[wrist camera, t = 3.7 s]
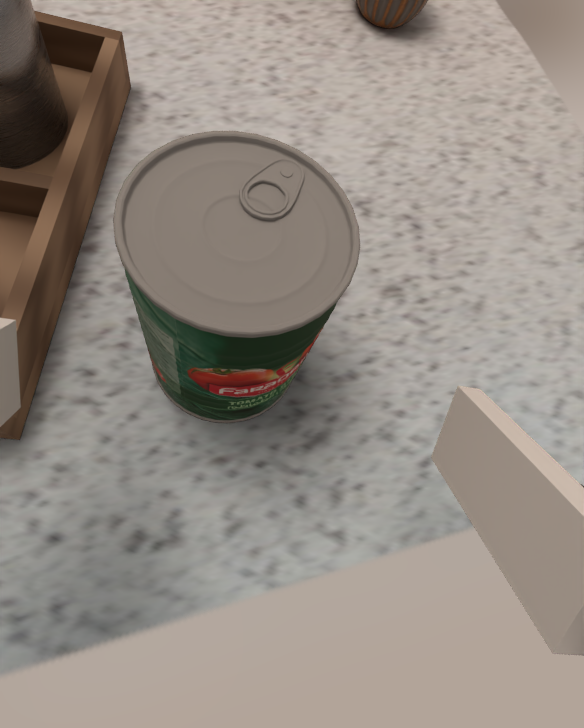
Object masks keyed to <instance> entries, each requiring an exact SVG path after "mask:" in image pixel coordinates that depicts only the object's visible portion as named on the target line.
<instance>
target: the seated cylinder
mask: <svg viewBox="0 0 584 728" xmlns="http://www.w3.org/2000/svg"><path fill="white" fill-rule="evenodd" d="M67 128H68V114H67V111H66V108H65V104H64V101H63V98H62V95H61V92H60V89H59V86H58V83H57V80H56V77H55V74H54V71H53V68H52V65H51V62H50V58H49V55H48V52H47V49H46V46H45V43H44V40H43V37H42V34H41V31H40V28H39V25H38V22H37V19H36V15H35V12H34V9H33V6H32V3H31V0H0V167H5V168H10V169H19V168H23V167H26V166H29V165H31V164H34V163H36V162H38V161H40V160H42V159H43V158H45V157H47V156H48V155H49V154H50V153H52V152H53V151H54V150H55V149H56V148H57V147H58V146H59V145H60V143H61V142H62V140H63V139H64V137H65V134H66V132H67Z"/></svg>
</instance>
